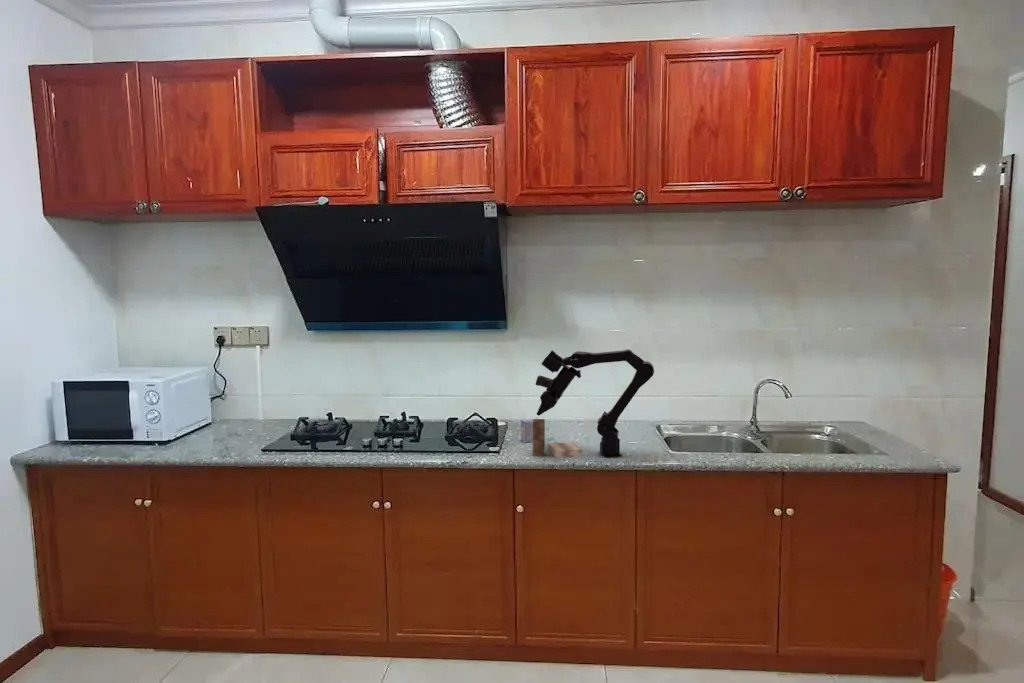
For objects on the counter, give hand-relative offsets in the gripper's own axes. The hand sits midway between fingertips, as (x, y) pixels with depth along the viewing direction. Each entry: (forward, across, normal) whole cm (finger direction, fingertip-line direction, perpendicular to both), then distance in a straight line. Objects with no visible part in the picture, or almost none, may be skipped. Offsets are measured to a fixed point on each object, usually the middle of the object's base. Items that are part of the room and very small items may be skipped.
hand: (539, 412), depth 230 cm
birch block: (+7, +1, +17) cm, 18 cm away
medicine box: (+16, -13, +4) cm, 21 cm away
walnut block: (+12, +5, +9) cm, 16 cm away
